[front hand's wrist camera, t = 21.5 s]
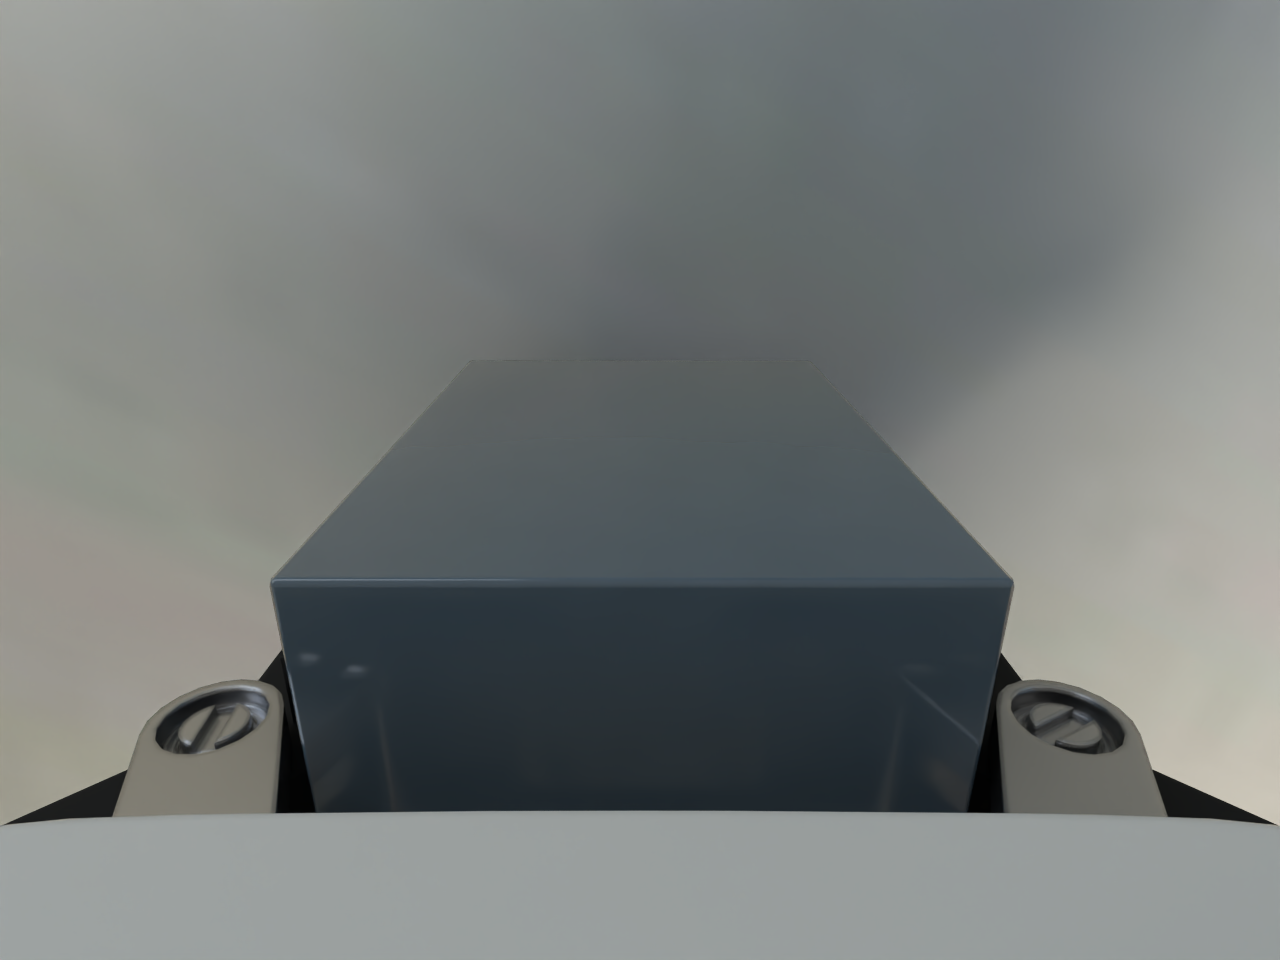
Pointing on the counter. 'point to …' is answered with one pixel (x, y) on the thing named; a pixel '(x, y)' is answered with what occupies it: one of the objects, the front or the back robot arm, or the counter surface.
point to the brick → (641, 604)
